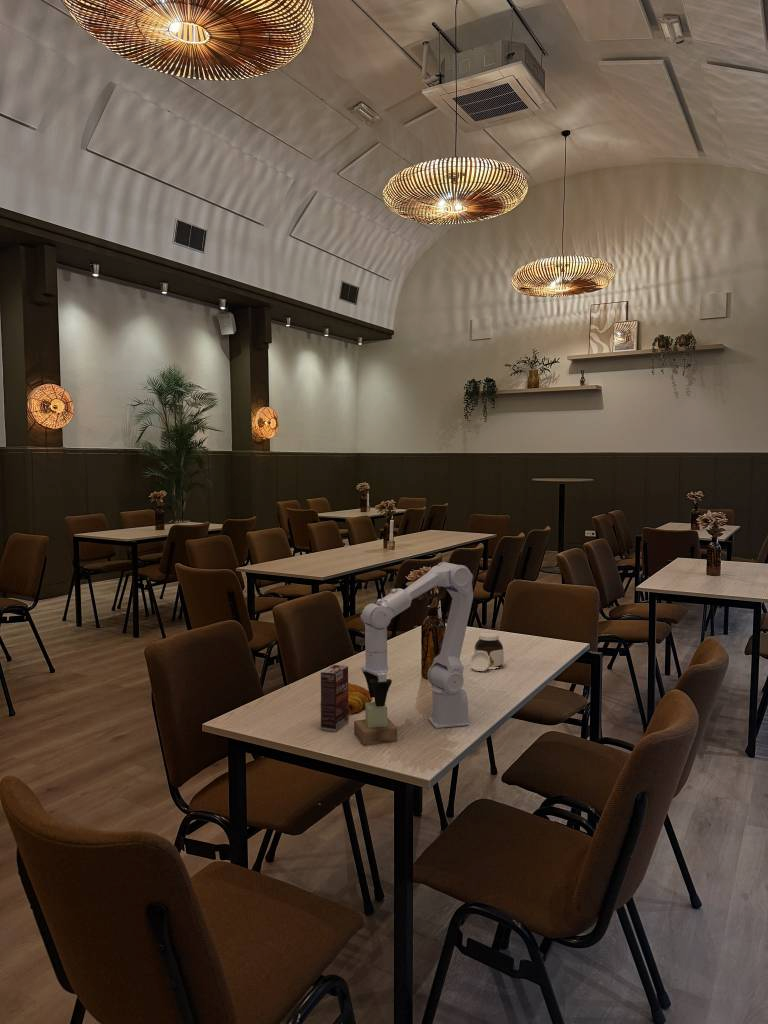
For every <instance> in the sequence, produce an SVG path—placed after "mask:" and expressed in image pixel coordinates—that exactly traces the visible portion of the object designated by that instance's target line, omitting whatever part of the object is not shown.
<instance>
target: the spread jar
mask: <svg viewBox="0 0 768 1024" xmlns="http://www.w3.org/2000/svg"><path fill="white" fill-rule="evenodd" d="M499 635H500V634H499V633H497V632H496V633H495V632H481V633H479V634H478V640H477V641H476V643H475V645H474V649H473V650H474V653H473V654H472V655H471V658H470V663H469V664H470V666H471V668H472V669H473V670H474V671H476V670H475V668H476V669H485V670H486V671H488V670H487V669H488V668H489V667H499V666H501V667H502V666H503V664H504V646H503V644H502V642H501V640H499V637H500V636H499ZM499 668H500V667H499ZM483 672H485V671H484V670H483Z"/></svg>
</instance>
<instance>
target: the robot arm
mask: <svg viewBox="0 0 768 1024" xmlns="http://www.w3.org/2000/svg"><path fill="white" fill-rule="evenodd" d="M473 579H474V574H473V573H472V572H471V570H470V569H469V568H468V567H467V565H462V564H455V563H451V562H450V563H449V562H448V561H441V562H439V563H438V564H437V565H434V566H432V567H431V568H430V570H429V571H427V572H426V573H424V574H423V575H422V576H421V577H420V578H418V579H417V580H415V581H414V582H412V583H411V584H409V586H407V587H406V588H404V589H403V588H399V587H398V588H392V589H391V590H390V593H389V594H386V596H384V597H382V598H378V599H376V601H375V603H368V604H367V605H365V606H364V609H362V613H361V614H360V619H361V621H362V623H363V624H364V640H365V641H364V643H365V645H364V646H365V648H364V649H365V651H364V652H365V666H361V668H360V669H361V672H362V673H363V675H364V678H365V681H366V685H367V689H368V691H369V694H370V697H371V698H372V699H373V698H374V702H375V704H376V706H377V707H380V706H384V705H385V704H386V703H387V702H386V700H387V697H388V691H389V689H390V687H391V685H392V679H390V678H387V673H388V671H389V666H388V630H387V629H388V626H389V625H390V623H391V622H392V621H391V620H392V619H393V618H395V617H396V616H398V615H399V614H401V613H402V612H404V611H406V610H407V609H409V608H410V607H411V605H412V600H414V599H416V598H418V597H419V596H421V595H423V594H424V593H426V592H428V591H430V590H432V589H433V588H435V587H443V588H445V590H446V591H447V592H448V594H449V595H450V597H451V598H452V599H451V604H450V608H449V613H448V617H447V622H446V625H445V630H444V635H443V639H442V644H441V647H440V652H439V654H437V655H436V656H435V657H434V658H433V661H432V664H431V666H430V667H429V668H428V671H427V681H428V682H429V683H430V684H431V689H432V690H431V691H432V698H431V699H432V716H429V717H427V719H428V720H429V721H430V723H432V725H433V726H434V728H435V729H441V728H451V727H452V728H453V727H454V728H455V727H463V726H469V725H470V723H469V699H468V694H467V692H466V690H465V689H463V686H464V681H465V680H464V665H463V662H462V661H461V653H462V648H463V645H464V640H465V636H466V631H467V626H468V621H469V617H470V613H471V608H472V604H473V601H474V590H473V583H472V582H473Z"/></svg>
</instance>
